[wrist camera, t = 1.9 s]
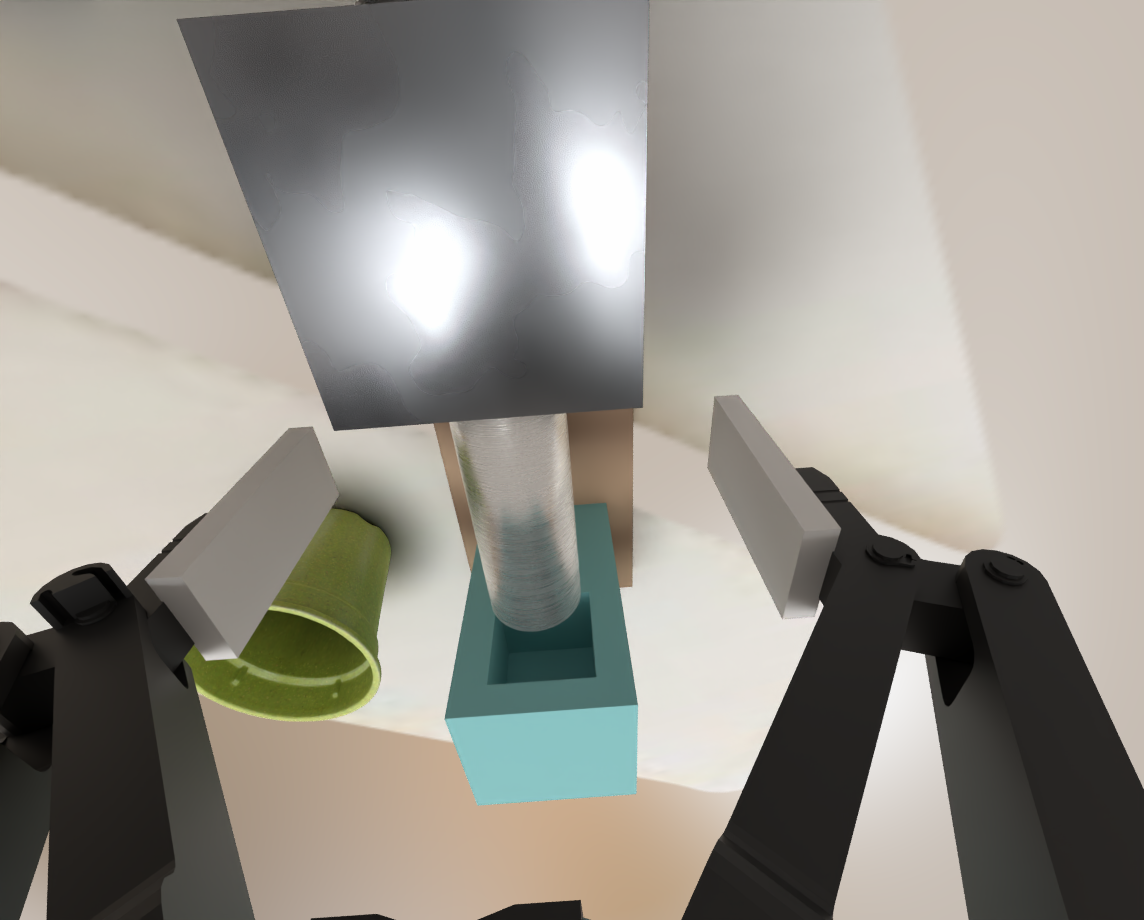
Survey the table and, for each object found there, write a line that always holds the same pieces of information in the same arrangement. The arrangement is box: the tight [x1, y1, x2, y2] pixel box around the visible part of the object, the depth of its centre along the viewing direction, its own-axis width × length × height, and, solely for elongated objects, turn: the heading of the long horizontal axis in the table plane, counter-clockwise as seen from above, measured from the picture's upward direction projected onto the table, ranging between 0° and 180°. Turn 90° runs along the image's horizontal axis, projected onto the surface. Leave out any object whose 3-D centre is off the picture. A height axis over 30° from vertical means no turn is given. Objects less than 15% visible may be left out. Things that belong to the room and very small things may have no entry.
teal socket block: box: [445, 503, 638, 805], centre depth 24 cm, size 7×7×12 cm
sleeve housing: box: [177, 0, 649, 431], centre depth 14 cm, size 7×7×12 cm
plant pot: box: [184, 509, 391, 722], centre depth 27 cm, size 9×9×9 cm
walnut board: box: [434, 408, 633, 588], centre depth 25 cm, size 26×10×2 cm, turn 4°
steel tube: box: [355, 0, 581, 632], centre depth 14 cm, size 17×4×4 cm, turn 4°
